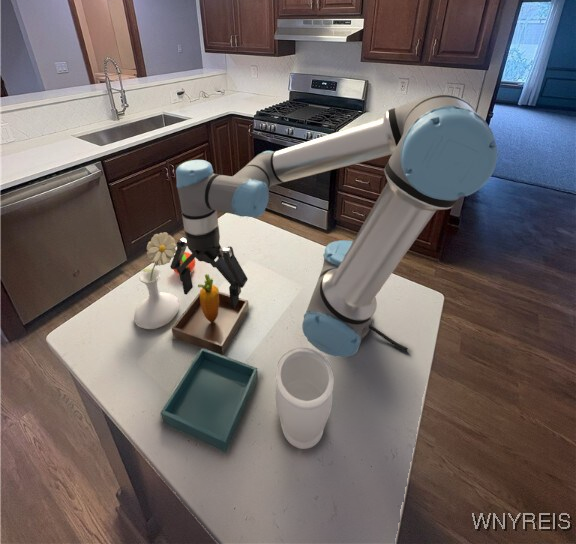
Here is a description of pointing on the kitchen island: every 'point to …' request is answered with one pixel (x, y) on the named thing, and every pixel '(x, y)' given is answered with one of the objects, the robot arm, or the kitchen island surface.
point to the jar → (303, 395)
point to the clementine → (191, 264)
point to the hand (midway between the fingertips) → (211, 297)
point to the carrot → (209, 299)
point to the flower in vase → (157, 304)
